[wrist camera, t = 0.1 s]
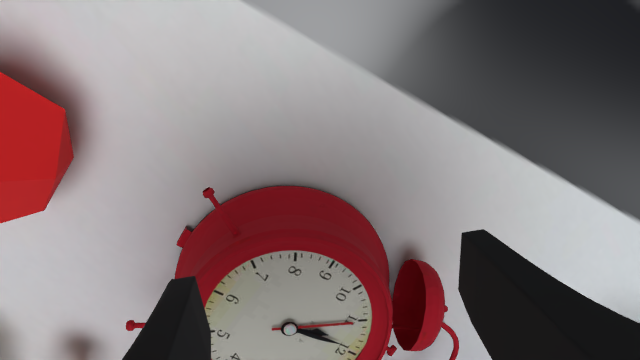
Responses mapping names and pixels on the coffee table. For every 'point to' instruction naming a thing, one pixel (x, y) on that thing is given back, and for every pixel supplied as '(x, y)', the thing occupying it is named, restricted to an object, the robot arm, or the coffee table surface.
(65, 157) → the red polyhedron
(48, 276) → the coffee table surface
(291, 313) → the alarm clock
